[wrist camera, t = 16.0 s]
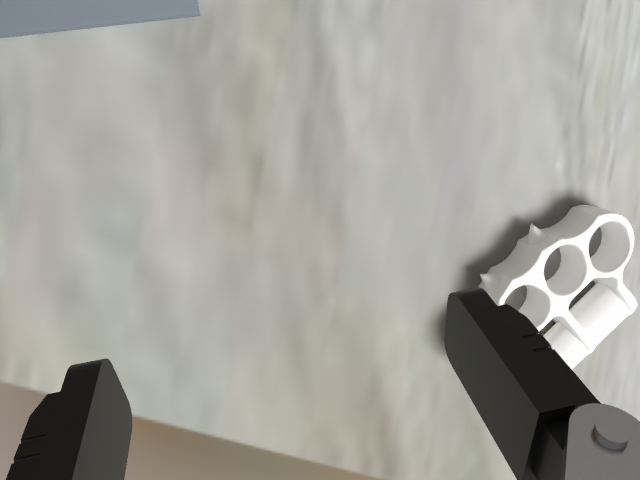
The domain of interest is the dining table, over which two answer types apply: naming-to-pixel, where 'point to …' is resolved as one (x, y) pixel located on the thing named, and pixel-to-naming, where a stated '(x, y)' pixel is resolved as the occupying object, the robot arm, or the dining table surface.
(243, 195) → the dining table surface
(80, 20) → the pad
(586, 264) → the white brass knuckles
